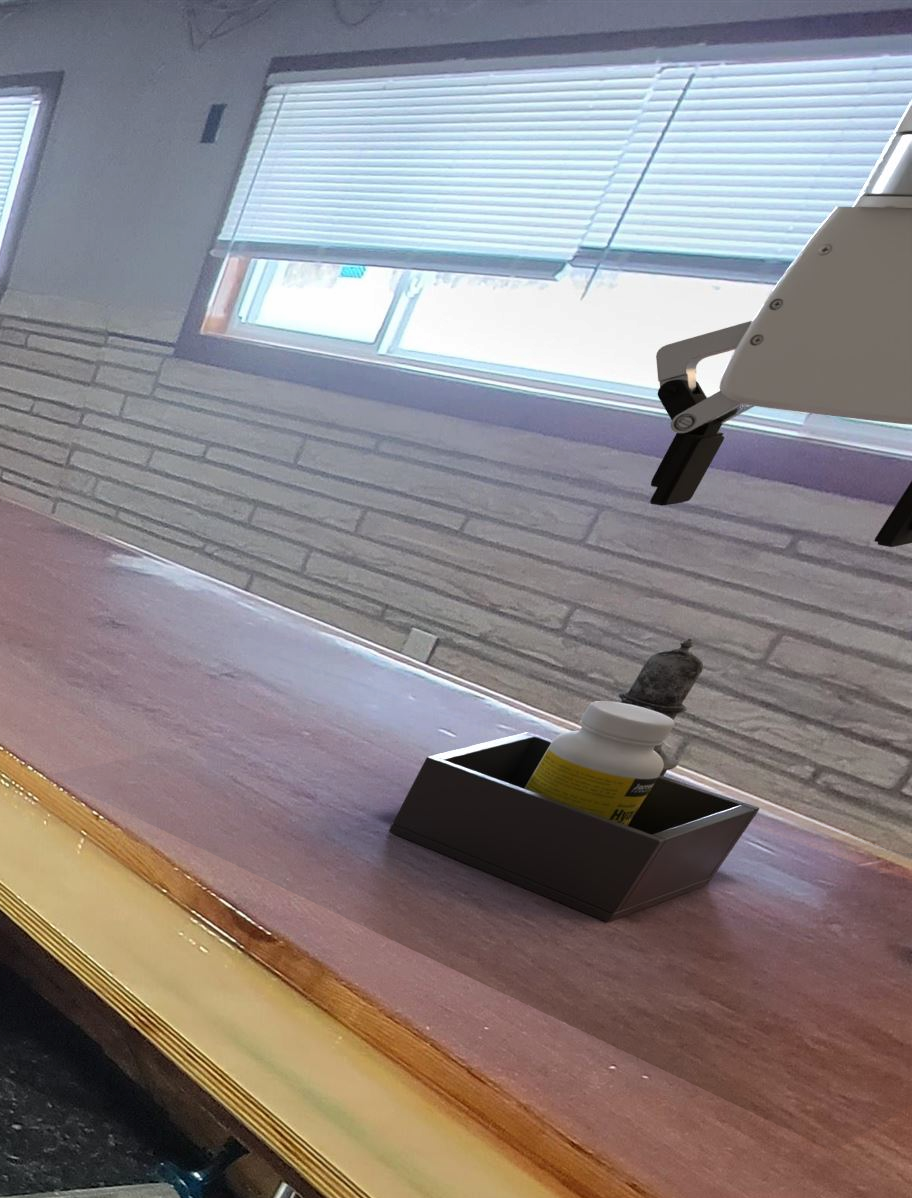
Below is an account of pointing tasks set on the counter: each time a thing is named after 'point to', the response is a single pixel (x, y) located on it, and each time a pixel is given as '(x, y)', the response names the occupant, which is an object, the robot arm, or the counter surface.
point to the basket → (567, 830)
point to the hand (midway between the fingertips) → (774, 522)
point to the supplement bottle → (605, 761)
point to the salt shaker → (665, 686)
